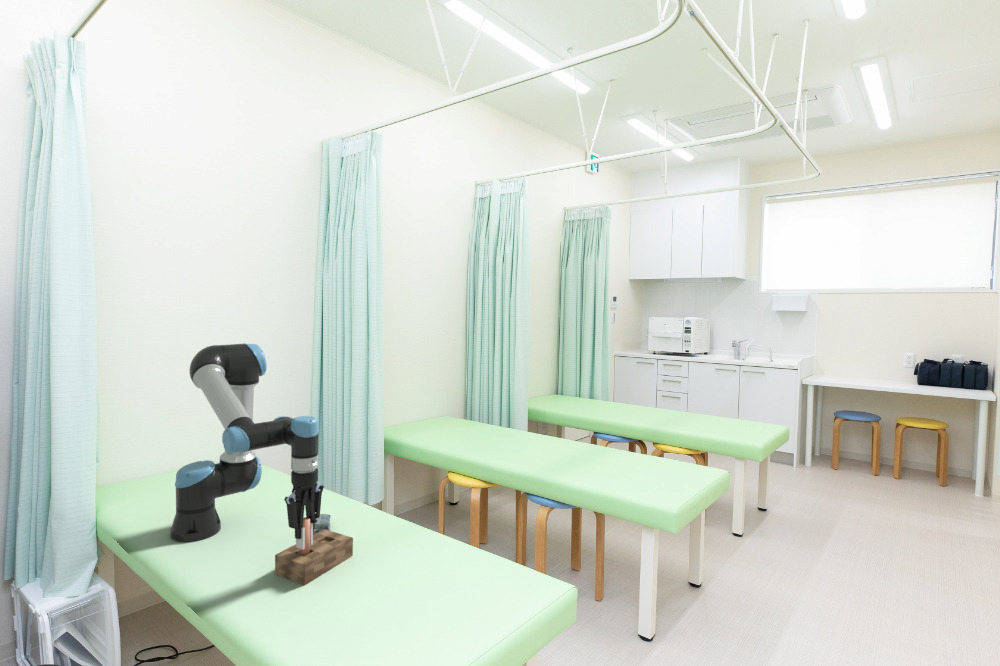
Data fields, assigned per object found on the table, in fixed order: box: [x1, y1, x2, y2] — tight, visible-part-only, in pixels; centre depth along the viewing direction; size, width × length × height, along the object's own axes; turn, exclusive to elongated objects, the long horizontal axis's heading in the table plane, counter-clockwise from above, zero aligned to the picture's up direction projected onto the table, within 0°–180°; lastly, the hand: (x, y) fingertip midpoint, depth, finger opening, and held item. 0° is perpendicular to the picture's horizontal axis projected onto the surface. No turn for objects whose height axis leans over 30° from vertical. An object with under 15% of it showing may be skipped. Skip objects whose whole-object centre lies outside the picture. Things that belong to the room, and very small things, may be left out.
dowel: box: [299, 516, 310, 556], centre depth 162 cm, size 3×3×12 cm
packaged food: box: [313, 513, 331, 535], centre depth 191 cm, size 9×12×5 cm
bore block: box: [274, 529, 354, 586], centre depth 167 cm, size 12×20×6 cm, turn 154°
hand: (304, 545), depth 162 cm, fingers closed on dowel, 2 cm apart
